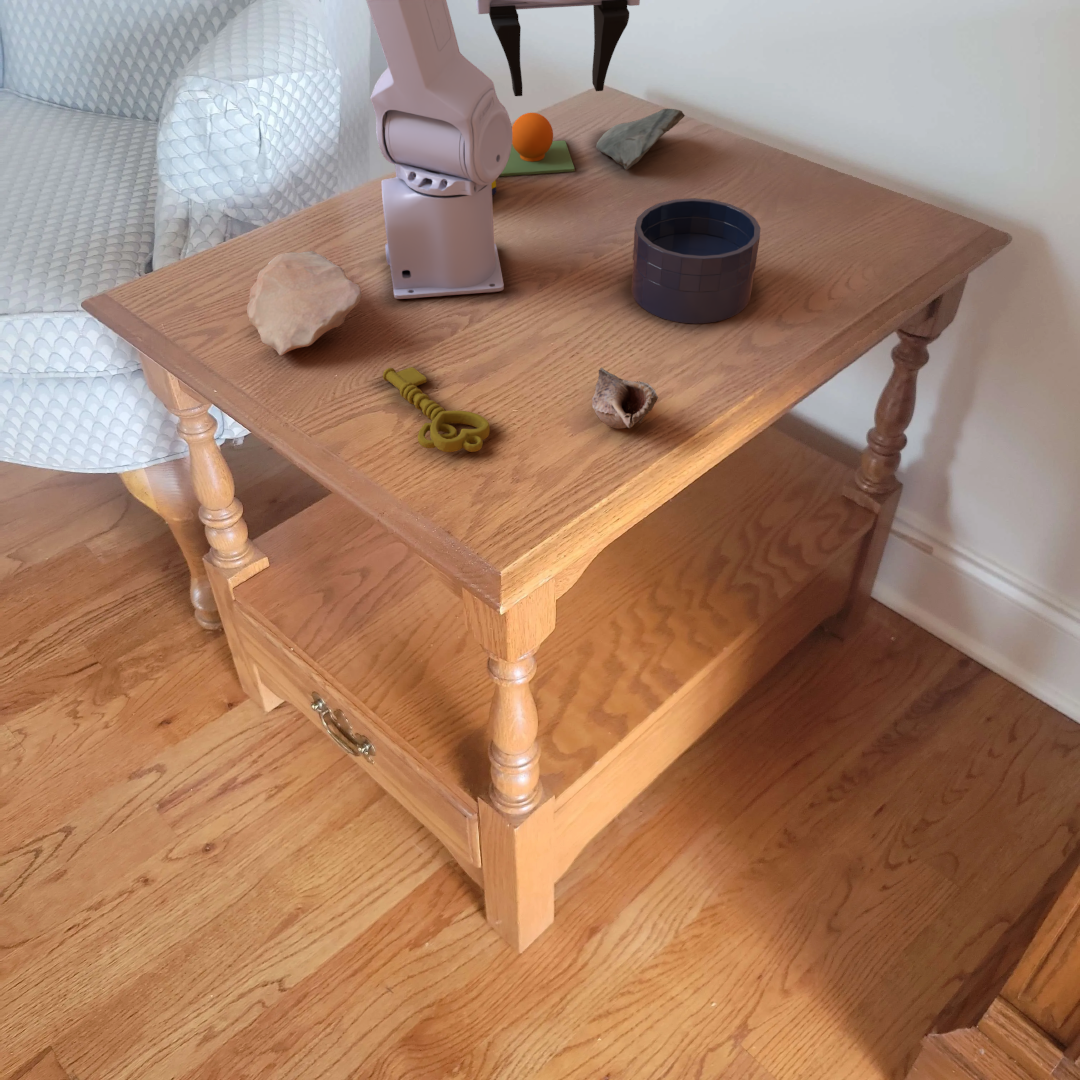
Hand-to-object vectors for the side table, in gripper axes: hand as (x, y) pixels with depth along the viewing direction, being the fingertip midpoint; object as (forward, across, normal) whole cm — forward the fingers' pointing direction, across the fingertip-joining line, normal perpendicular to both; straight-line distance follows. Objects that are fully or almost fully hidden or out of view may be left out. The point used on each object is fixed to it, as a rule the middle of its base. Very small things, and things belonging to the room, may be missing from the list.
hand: (557, 89), depth 95 cm
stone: (+10, -9, -6) cm, 14 cm away
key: (+9, +13, +35) cm, 38 cm away
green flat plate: (+9, +2, -6) cm, 11 cm away
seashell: (+8, -1, +38) cm, 39 cm away
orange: (+7, +2, -6) cm, 9 cm away
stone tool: (+7, +22, +28) cm, 37 cm away
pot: (+9, -8, +22) cm, 25 cm away
